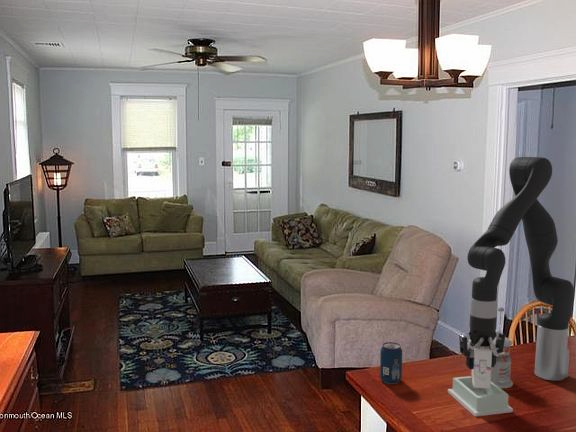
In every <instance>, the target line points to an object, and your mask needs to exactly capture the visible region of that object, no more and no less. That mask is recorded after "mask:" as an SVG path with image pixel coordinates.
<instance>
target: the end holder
mask: <svg viewBox="0 0 576 432" xmlns="http://www.w3.org/2000/svg"><path fill="white" fill-rule="evenodd" d="M447 393H448V394H449V395H450V396H452V397H453V399H455V400H456V401H457V402H458V403H459V404H461V406H462V407H464V408H465V409H466V411H468V412H469V413H470V414H472V415H473V416H474V417H482V416H490V415H491V416H492V415H500V414H505V413H506V414H508V413H513V412H514V408H512V407H511V406H510V405H509V394H508V393H507V392H506V391H504V390H503V388H499V387H498V386H496V385H495V384H494V383H492V382H491V386H490V389H488V388H474V386H473V382H472V378H471V375H470V376H469V375H468V376H459V377H458V376H457V377H453V378H452V388H448V389H447Z"/></svg>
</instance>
